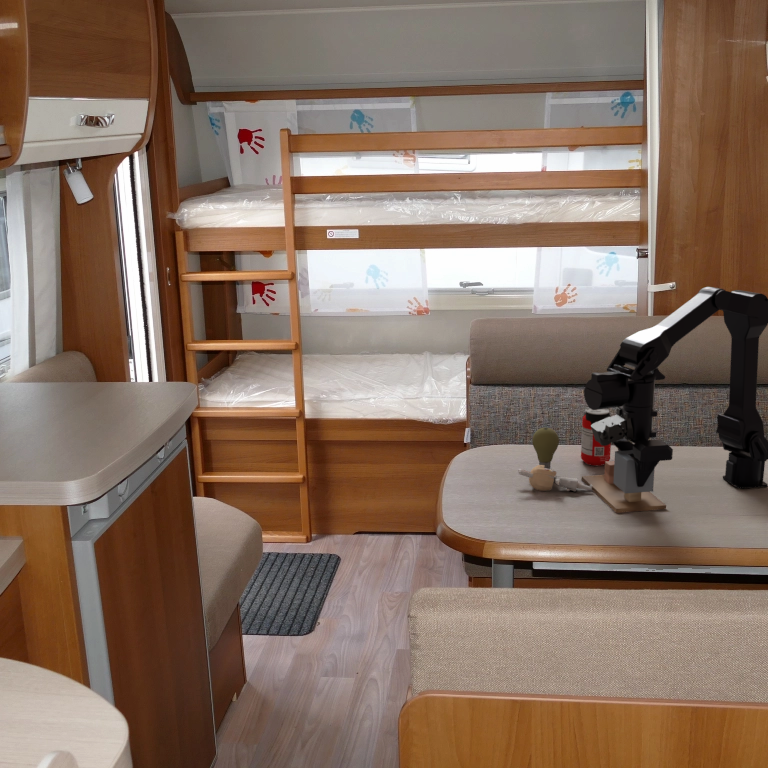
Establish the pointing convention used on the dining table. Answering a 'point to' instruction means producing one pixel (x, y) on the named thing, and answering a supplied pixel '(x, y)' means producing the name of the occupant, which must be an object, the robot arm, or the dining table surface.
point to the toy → (550, 479)
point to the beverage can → (593, 439)
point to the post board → (621, 493)
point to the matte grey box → (629, 474)
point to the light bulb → (545, 445)
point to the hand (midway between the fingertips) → (633, 481)
